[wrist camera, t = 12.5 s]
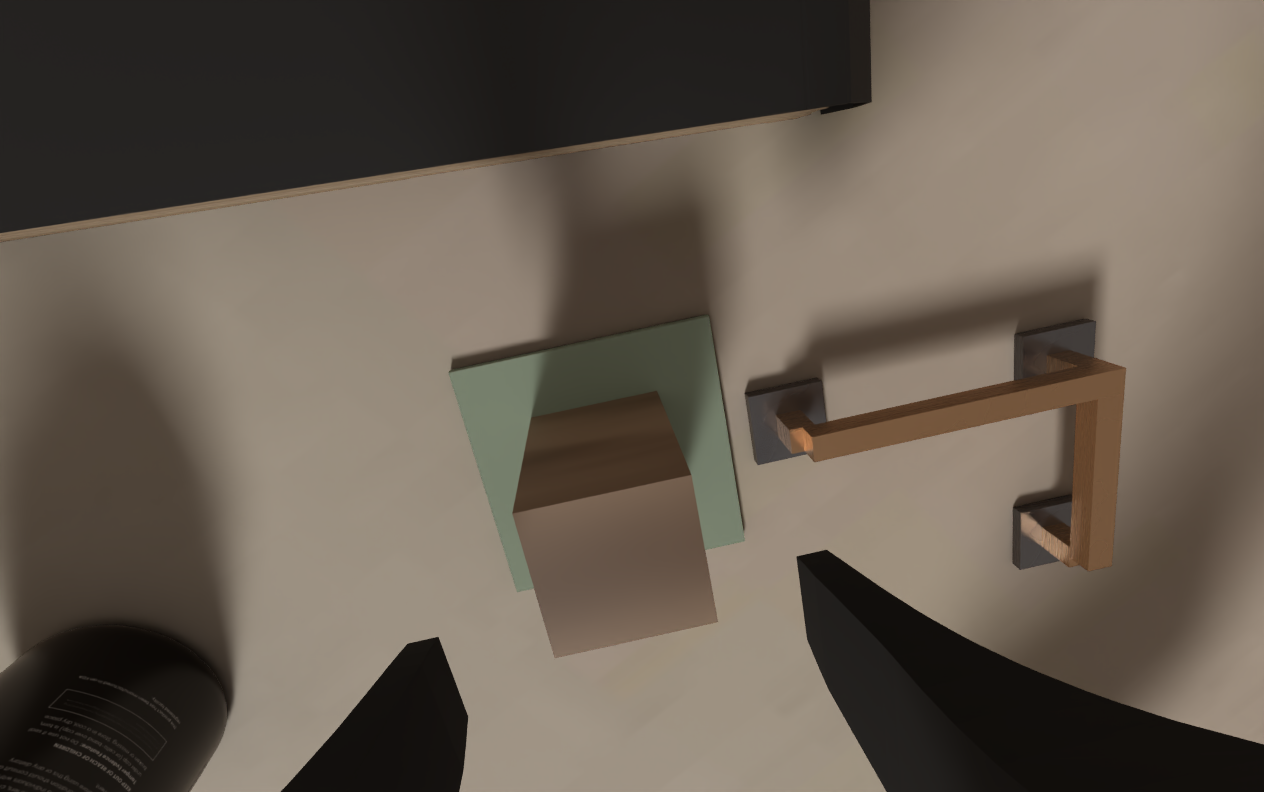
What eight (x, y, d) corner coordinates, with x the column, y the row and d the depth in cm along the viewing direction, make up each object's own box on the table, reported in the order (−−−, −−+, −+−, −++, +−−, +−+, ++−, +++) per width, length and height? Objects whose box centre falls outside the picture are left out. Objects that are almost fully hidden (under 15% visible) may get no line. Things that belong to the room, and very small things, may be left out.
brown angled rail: (1075, 549, 23) (1132, 590, 20) (777, 616, 23) (801, 666, 20) (1086, 318, 20) (1154, 335, 18) (744, 393, 20) (768, 421, 17)
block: (678, 502, 20) (718, 621, 15) (560, 527, 20) (554, 658, 15) (656, 390, 19) (691, 474, 13) (530, 417, 19) (512, 513, 13)
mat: (742, 536, 21) (744, 540, 21) (517, 586, 21) (517, 591, 21) (707, 314, 19) (708, 316, 18) (450, 370, 19) (448, 372, 18)
